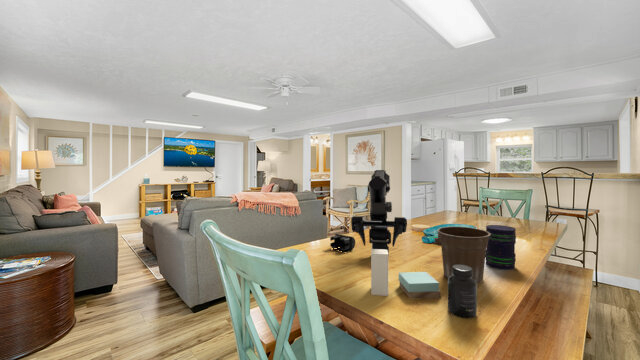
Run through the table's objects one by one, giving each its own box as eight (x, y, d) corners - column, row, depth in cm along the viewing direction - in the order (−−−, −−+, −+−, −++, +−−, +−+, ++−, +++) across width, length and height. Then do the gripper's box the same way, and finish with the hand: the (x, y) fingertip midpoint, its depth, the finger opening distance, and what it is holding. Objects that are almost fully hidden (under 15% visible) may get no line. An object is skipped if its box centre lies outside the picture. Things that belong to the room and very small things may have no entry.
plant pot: (469, 290, 86) (469, 239, 86) (427, 273, 101) (427, 229, 100) (500, 280, 94) (501, 233, 93) (457, 266, 108) (457, 224, 108)
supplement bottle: (442, 306, 77) (442, 263, 76) (466, 305, 77) (466, 262, 77) (456, 320, 70) (457, 272, 69) (482, 318, 70) (483, 271, 70)
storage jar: (486, 268, 106) (486, 228, 106) (483, 260, 115) (484, 224, 115) (518, 271, 102) (518, 231, 101) (512, 263, 111) (513, 226, 110)
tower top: (408, 292, 82) (408, 283, 82) (398, 280, 91) (398, 272, 90) (439, 291, 82) (439, 282, 82) (425, 279, 91) (425, 271, 91)
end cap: (355, 250, 131) (355, 235, 131) (346, 253, 126) (346, 238, 126) (339, 246, 138) (339, 232, 138) (329, 249, 133) (329, 235, 133)
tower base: (410, 301, 81) (410, 292, 81) (399, 288, 90) (399, 280, 90) (440, 299, 82) (440, 291, 82) (426, 287, 91) (426, 279, 91)
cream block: (371, 294, 84) (371, 253, 84) (371, 287, 89) (371, 248, 89) (388, 295, 83) (388, 254, 83) (387, 288, 88) (387, 249, 88)
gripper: (351, 193, 99) (349, 231, 88) (406, 193, 95) (410, 233, 85) (352, 212, 107) (350, 249, 96) (403, 213, 103) (407, 251, 93)
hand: (378, 245), depth 92 cm, fingers open, 9 cm apart
